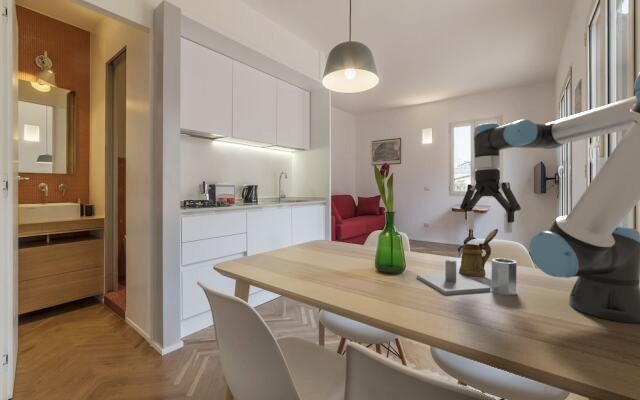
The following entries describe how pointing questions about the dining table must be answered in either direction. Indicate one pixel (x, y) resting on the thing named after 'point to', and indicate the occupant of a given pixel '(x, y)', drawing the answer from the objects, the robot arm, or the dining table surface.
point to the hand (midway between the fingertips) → (488, 230)
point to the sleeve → (504, 276)
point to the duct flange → (452, 281)
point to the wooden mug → (476, 257)
